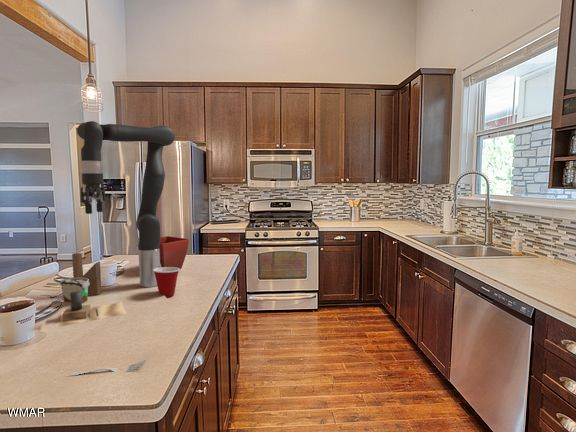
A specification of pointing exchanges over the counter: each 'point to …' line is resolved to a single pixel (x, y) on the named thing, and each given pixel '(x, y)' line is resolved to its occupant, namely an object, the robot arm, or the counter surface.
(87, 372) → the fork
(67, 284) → the food container
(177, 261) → the plant pot
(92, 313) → the oak board
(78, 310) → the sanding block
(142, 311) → the counter surface
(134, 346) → the counter surface
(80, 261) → the wooden block
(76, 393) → the counter surface
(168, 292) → the plastic cup
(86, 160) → the robot arm
